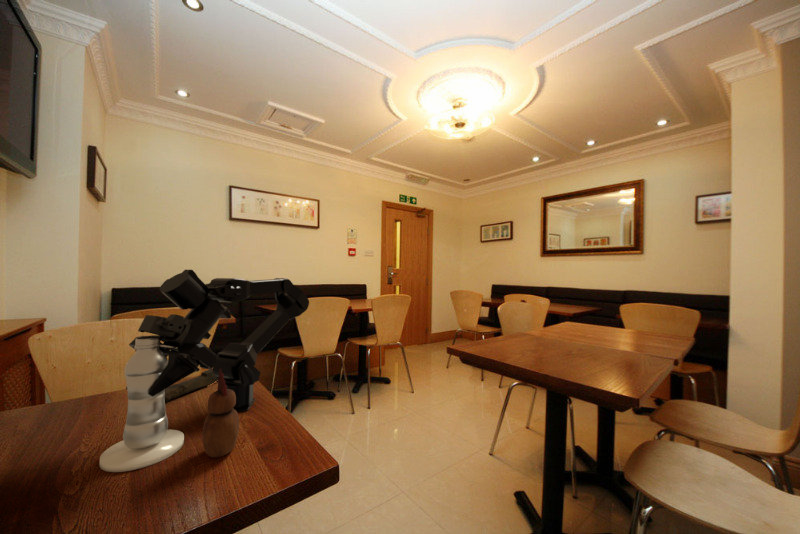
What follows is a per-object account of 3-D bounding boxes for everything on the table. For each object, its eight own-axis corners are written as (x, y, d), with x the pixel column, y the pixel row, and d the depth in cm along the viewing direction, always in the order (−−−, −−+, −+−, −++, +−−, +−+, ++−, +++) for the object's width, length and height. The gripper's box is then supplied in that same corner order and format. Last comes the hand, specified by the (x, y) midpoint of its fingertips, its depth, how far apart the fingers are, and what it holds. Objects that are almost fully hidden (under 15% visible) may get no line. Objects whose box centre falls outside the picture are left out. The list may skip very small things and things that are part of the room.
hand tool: (161, 407, 76) (161, 388, 76) (150, 404, 77) (151, 386, 77) (227, 382, 94) (227, 367, 94) (217, 380, 95) (218, 365, 95)
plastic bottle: (176, 434, 61) (178, 333, 61) (150, 454, 54) (153, 341, 54) (141, 435, 60) (144, 333, 60) (111, 455, 53) (114, 341, 54)
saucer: (195, 432, 64) (196, 427, 64) (160, 468, 52) (160, 462, 52) (131, 436, 62) (131, 431, 62) (79, 475, 50) (79, 469, 50)
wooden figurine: (206, 445, 59) (208, 367, 59) (239, 439, 61) (241, 364, 62) (198, 465, 53) (201, 378, 53) (236, 458, 55) (238, 374, 55)
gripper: (141, 297, 64) (68, 364, 54) (204, 301, 58) (135, 378, 47) (178, 328, 72) (121, 392, 61) (238, 334, 65) (185, 407, 55)
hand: (138, 392), depth 56 cm, fingers closed on plastic bottle, 6 cm apart
